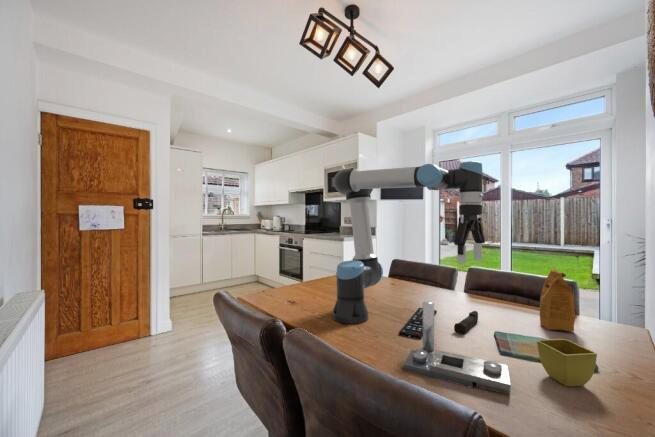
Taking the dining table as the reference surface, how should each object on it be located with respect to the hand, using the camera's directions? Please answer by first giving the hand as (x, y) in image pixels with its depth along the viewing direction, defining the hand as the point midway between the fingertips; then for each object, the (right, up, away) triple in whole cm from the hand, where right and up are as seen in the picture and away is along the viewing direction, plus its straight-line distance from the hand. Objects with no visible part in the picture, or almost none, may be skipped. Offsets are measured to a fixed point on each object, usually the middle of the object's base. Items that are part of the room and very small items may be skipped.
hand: (469, 262), depth 102 cm
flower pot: (+9, -26, -30) cm, 41 cm away
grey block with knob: (-15, -26, -28) cm, 41 cm away
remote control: (-15, -27, +10) cm, 32 cm away
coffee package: (+36, -26, +5) cm, 45 cm away
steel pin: (-20, -26, -13) cm, 35 cm away
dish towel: (+15, -27, -14) cm, 34 cm away
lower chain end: (-21, -26, -24) cm, 42 cm away
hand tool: (+2, -27, +6) cm, 27 cm away
